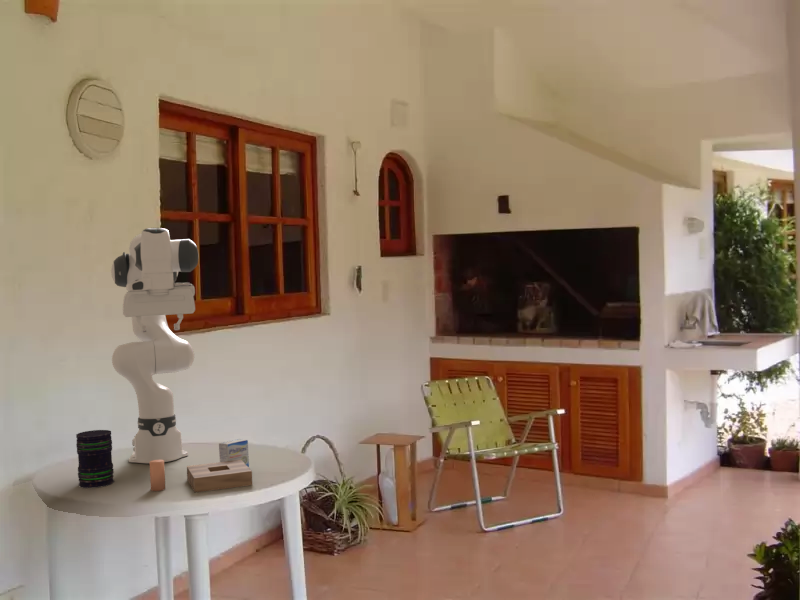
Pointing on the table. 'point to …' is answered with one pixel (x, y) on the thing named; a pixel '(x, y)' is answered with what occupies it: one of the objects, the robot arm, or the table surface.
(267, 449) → the table surface
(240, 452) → the medicine box
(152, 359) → the robot arm
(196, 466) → the socket block
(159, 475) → the peg
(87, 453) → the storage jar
